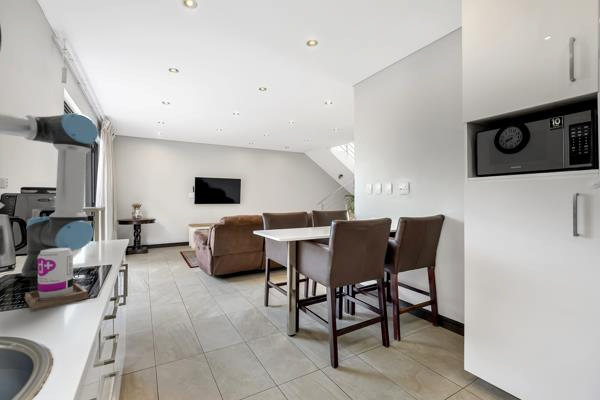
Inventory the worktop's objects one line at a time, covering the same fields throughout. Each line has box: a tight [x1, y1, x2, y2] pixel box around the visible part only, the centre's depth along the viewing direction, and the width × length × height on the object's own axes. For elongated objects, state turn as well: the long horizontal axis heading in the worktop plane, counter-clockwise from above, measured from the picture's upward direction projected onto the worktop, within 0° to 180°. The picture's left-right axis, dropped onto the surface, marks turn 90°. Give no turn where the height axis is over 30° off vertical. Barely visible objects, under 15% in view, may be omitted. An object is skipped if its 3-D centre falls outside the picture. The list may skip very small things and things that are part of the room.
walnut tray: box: [24, 282, 89, 312], centre depth 85 cm, size 13×13×2 cm
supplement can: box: [37, 248, 74, 301], centre depth 85 cm, size 8×8×15 cm
